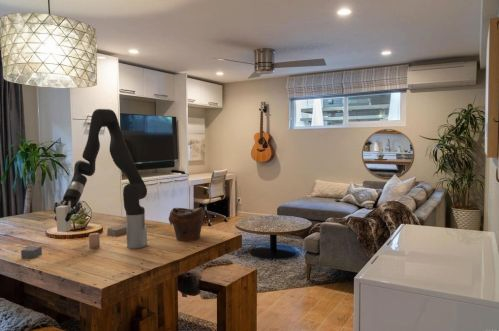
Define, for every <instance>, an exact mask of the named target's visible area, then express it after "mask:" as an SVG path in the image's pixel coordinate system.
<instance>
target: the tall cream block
mask: <svg viewBox="0 0 499 331" xmlns="http://www.w3.org/2000/svg"><path fill="white" fill-rule="evenodd" d="M69 207H70V206H61V205H60V206H59V207H56V213H55V216H56V218H57V222H56V231H57V232H58V233H63V232H64V233H65V232H68V231H71V230H72V217H71V218H70V220H69V221H68V222H66V221H65V218H66V216H67V213H68V211H69Z"/></svg>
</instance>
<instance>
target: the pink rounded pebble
mask: <svg viewBox="0 0 499 331" xmlns="http://www.w3.org/2000/svg"><path fill="white" fill-rule="evenodd" d="M88 244H89V247H88V248H89V249H90V250H95V249H100V247H101V246H100V245H101V241H100V232H93V233H89V234H88Z"/></svg>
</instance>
